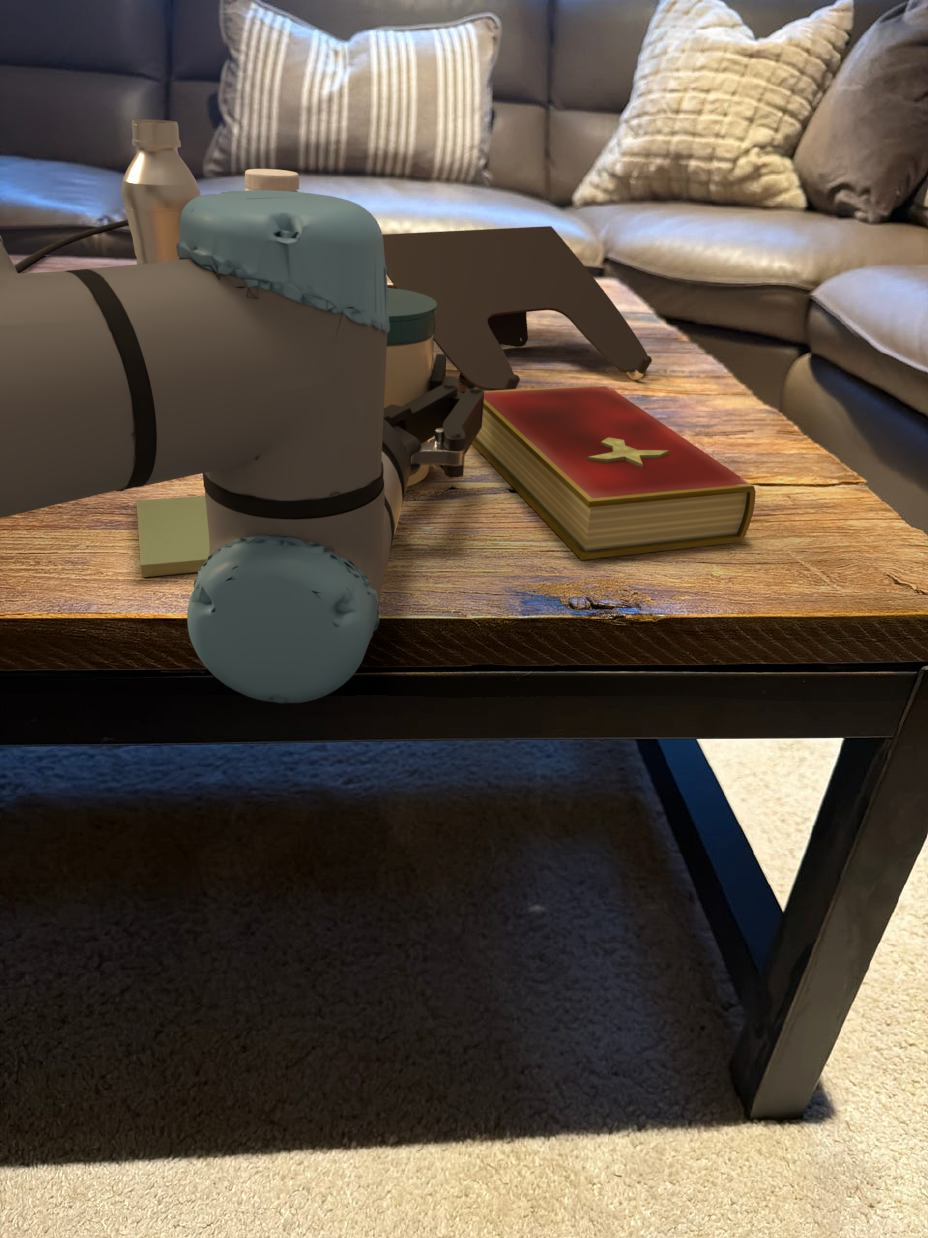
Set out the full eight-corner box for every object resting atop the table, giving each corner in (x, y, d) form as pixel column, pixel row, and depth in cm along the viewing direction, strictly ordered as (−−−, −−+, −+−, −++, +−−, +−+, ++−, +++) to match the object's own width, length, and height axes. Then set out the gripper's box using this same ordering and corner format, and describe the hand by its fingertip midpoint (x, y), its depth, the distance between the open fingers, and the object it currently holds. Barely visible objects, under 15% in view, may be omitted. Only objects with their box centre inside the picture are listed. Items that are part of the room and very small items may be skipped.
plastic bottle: (230, 362, 90) (213, 124, 79) (173, 378, 85) (148, 126, 74) (183, 348, 92) (161, 117, 82) (126, 363, 88) (95, 118, 77)
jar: (309, 451, 72) (304, 294, 66) (412, 445, 74) (416, 292, 68) (329, 494, 65) (326, 323, 59) (441, 486, 67) (449, 321, 61)
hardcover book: (603, 430, 79) (610, 380, 77) (746, 541, 62) (760, 481, 60) (468, 439, 75) (471, 387, 73) (581, 560, 59) (589, 497, 57)
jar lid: (303, 312, 66) (302, 286, 65) (417, 310, 69) (418, 285, 68) (325, 345, 60) (324, 317, 59) (451, 342, 62) (452, 314, 61)
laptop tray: (451, 460, 87) (482, 385, 80) (346, 295, 96) (366, 214, 89) (637, 424, 99) (679, 356, 92) (528, 280, 108) (558, 207, 101)
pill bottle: (328, 322, 104) (326, 172, 96) (287, 338, 98) (281, 178, 90) (267, 311, 107) (261, 164, 99) (223, 326, 100) (212, 170, 93)
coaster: (137, 511, 61) (136, 500, 61) (278, 501, 64) (278, 489, 63) (142, 577, 54) (140, 565, 53) (301, 562, 56) (300, 550, 56)
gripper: (147, 540, 53) (245, 407, 72) (521, 565, 53) (518, 426, 72) (131, 409, 49) (238, 306, 69) (534, 437, 49) (527, 326, 68)
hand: (382, 368), depth 70 cm, fingers closed on jar, 8 cm apart
